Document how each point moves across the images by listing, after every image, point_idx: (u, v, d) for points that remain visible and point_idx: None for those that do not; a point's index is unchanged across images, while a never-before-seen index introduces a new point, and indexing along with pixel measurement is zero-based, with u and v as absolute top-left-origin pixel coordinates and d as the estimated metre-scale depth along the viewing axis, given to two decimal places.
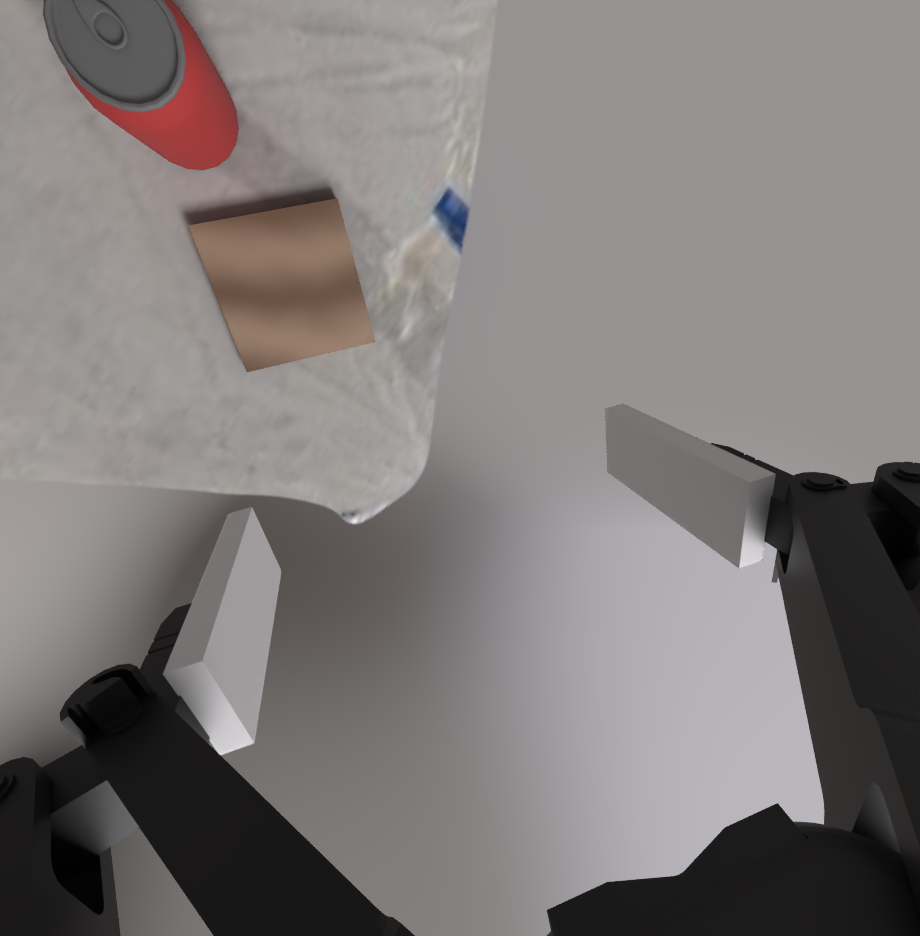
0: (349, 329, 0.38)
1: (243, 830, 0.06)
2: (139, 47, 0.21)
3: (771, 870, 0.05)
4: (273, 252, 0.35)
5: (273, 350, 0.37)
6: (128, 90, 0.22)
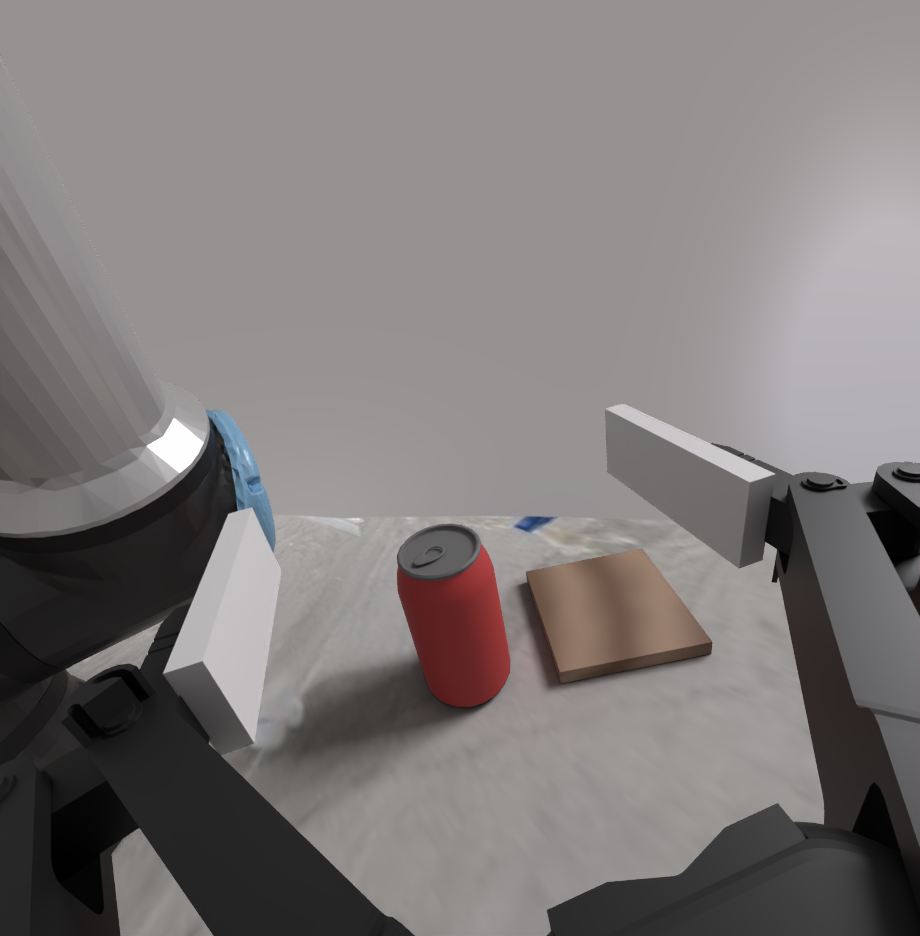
0: (635, 564, 0.40)
1: (243, 830, 0.06)
2: (443, 544, 0.30)
3: (771, 870, 0.05)
4: (574, 611, 0.36)
5: (676, 617, 0.34)
6: (467, 550, 0.29)
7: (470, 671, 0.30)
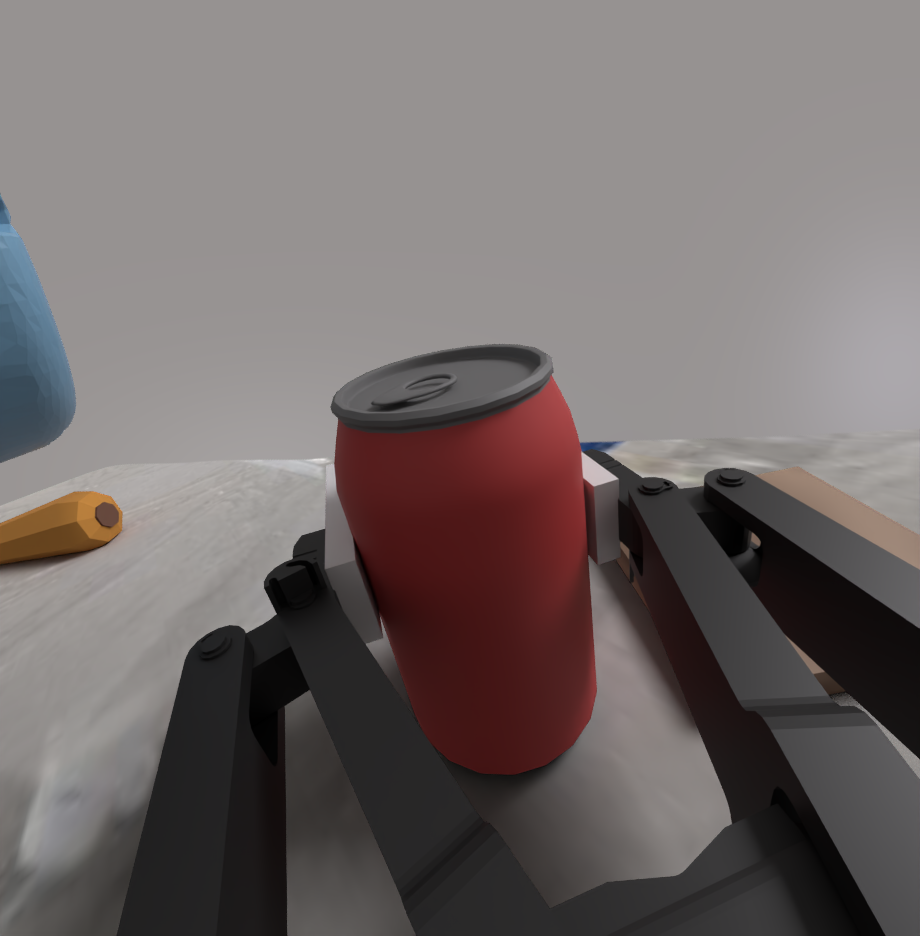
0: (797, 488, 0.22)
1: (378, 711, 0.07)
2: None
3: (771, 870, 0.05)
4: None
5: None
6: (517, 376, 0.11)
7: (520, 694, 0.12)
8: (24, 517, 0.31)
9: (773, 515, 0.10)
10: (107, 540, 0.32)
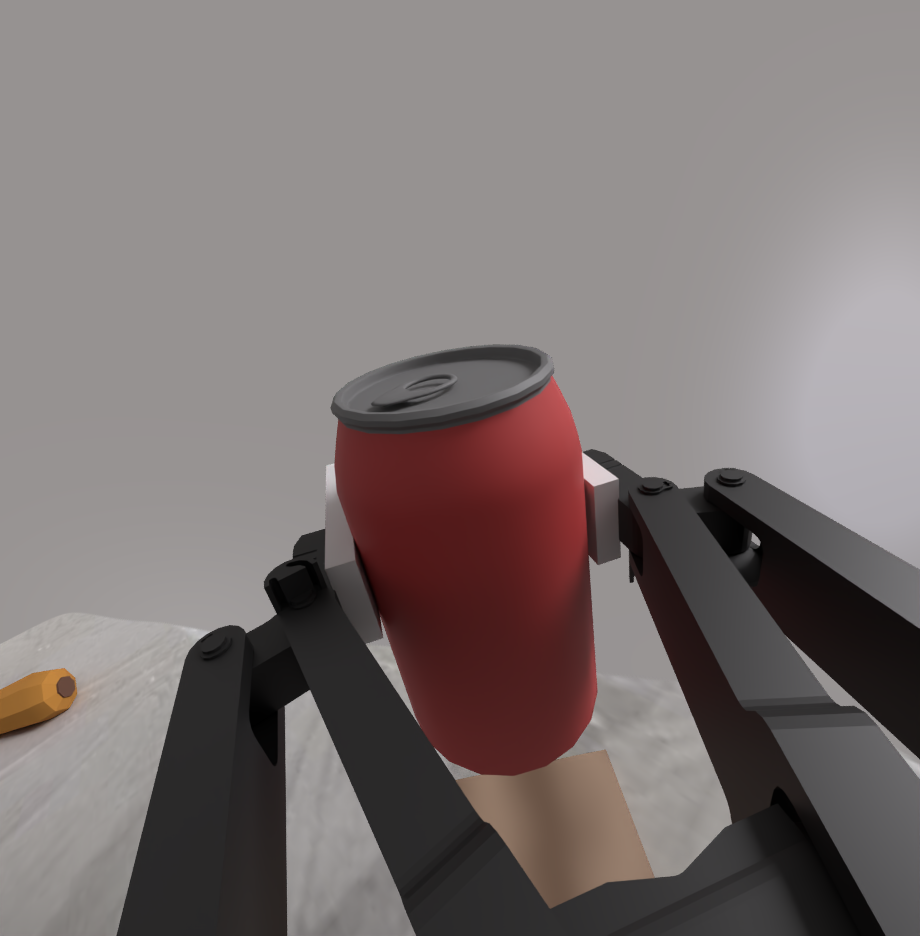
0: (593, 785, 0.26)
1: (378, 710, 0.07)
2: None
3: (770, 870, 0.05)
4: None
5: None
6: (518, 376, 0.11)
7: (520, 695, 0.12)
8: None
9: (773, 515, 0.10)
10: (68, 707, 0.40)
